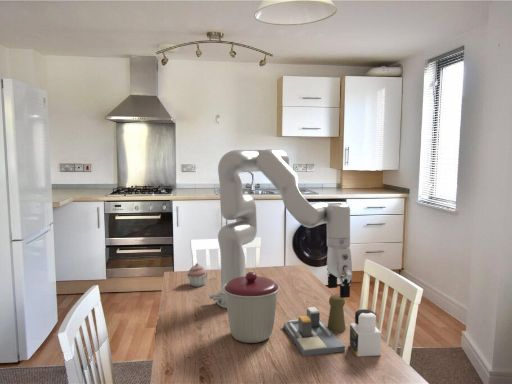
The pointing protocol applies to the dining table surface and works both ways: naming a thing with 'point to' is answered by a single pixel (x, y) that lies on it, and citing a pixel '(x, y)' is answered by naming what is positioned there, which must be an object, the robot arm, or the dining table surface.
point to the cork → (336, 314)
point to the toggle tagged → (304, 326)
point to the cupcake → (197, 275)
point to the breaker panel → (314, 339)
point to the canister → (251, 307)
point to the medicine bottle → (365, 334)
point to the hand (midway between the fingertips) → (338, 292)
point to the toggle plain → (313, 316)
